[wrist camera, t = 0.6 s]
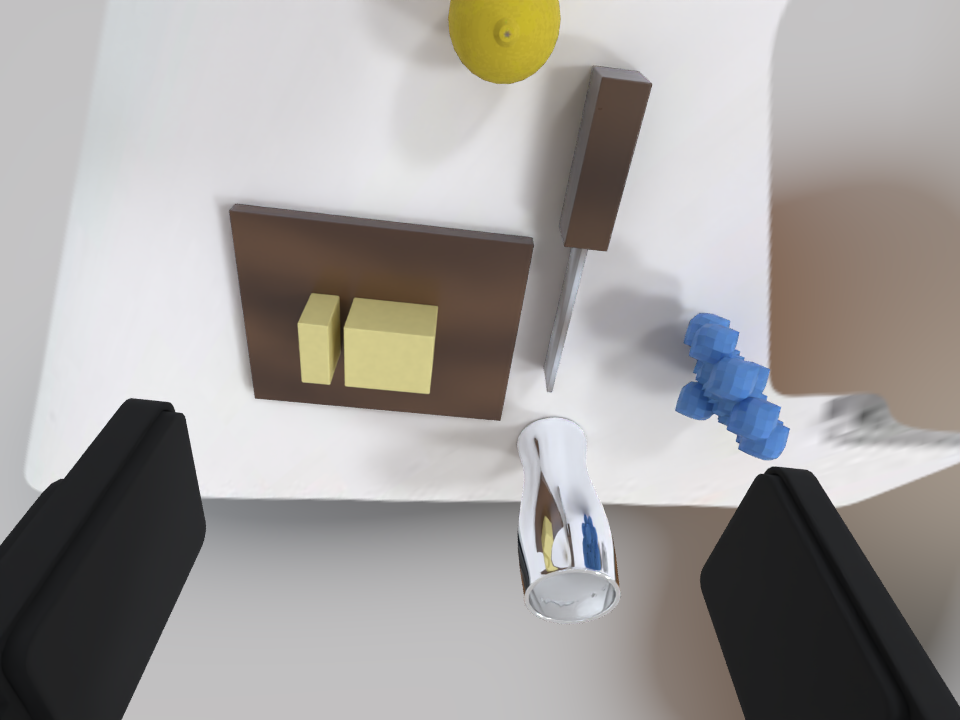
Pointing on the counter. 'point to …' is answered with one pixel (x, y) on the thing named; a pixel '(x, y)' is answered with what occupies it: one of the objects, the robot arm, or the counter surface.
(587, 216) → the knife
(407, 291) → the board
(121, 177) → the counter surface
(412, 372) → the butter block
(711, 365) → the grapes
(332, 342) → the butter slice
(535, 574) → the beer glass
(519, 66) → the lemon
